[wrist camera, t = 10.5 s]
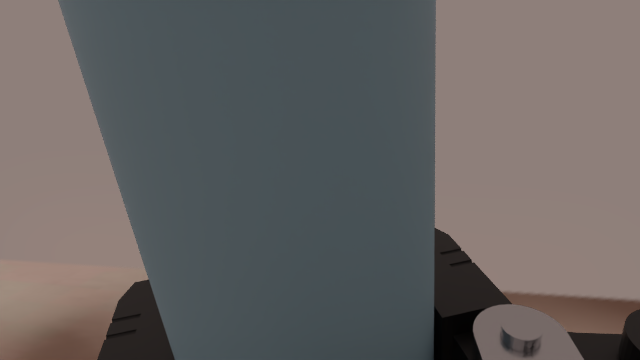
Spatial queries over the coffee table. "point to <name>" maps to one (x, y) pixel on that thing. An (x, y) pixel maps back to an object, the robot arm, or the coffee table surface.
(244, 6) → the blue-grey painted peg
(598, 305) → the coffee table surface
